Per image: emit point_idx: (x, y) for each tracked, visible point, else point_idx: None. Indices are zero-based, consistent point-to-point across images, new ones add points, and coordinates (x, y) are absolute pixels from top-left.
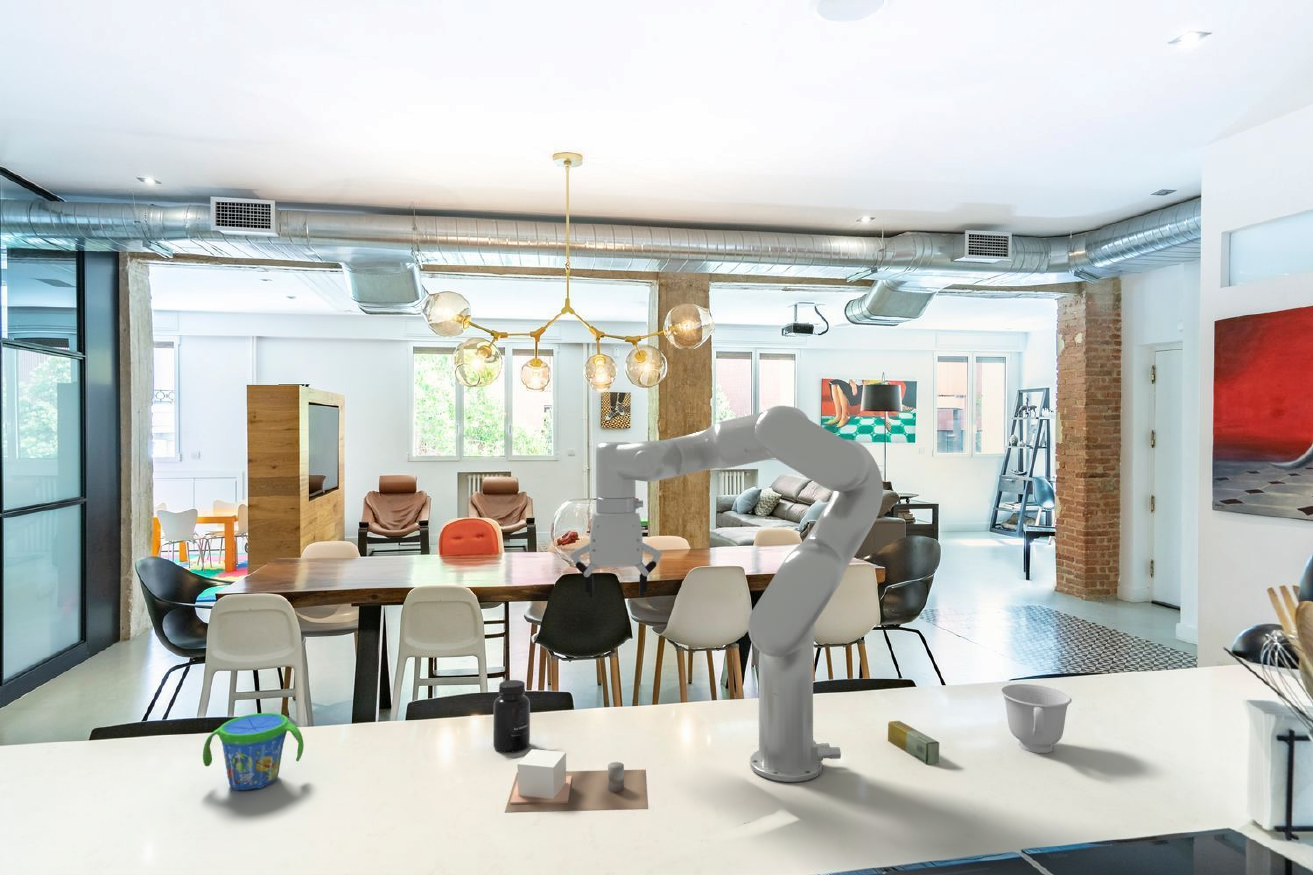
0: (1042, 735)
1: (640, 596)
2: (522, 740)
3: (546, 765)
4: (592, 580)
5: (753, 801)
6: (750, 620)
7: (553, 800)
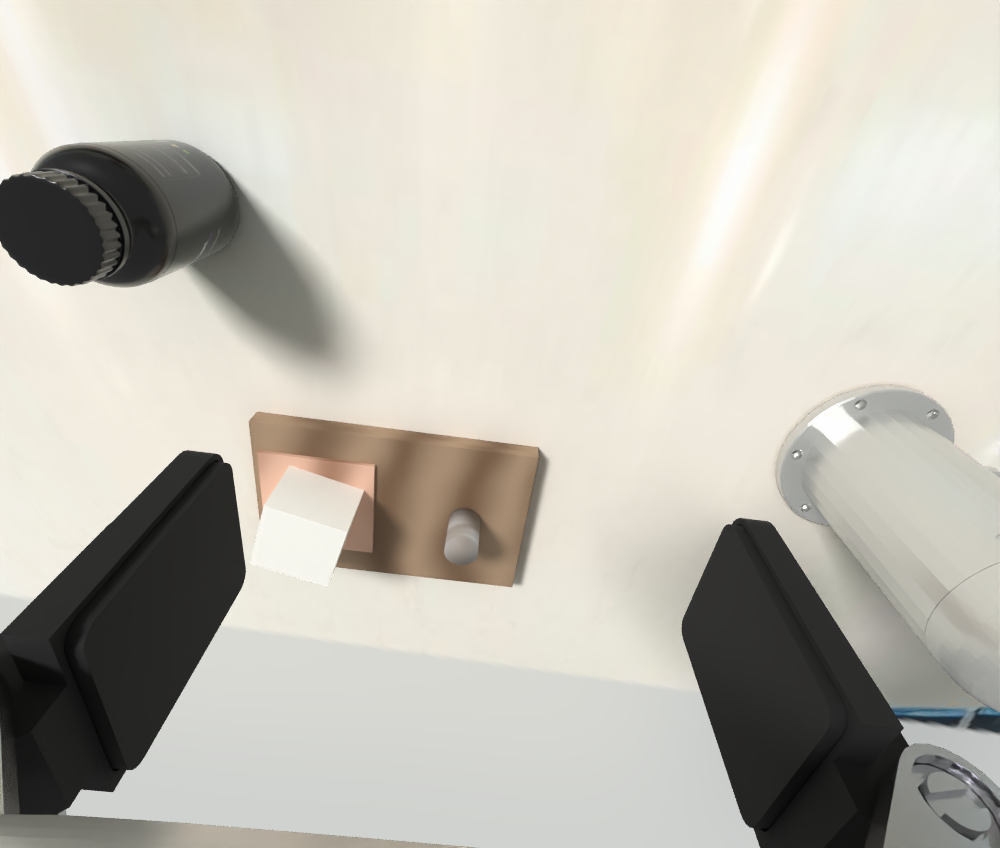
0: None
1: (687, 626)
2: (215, 251)
3: (312, 577)
4: (150, 741)
5: (709, 558)
6: None
7: (345, 546)
